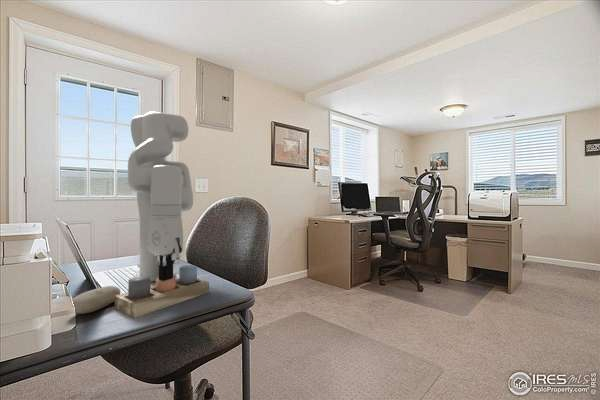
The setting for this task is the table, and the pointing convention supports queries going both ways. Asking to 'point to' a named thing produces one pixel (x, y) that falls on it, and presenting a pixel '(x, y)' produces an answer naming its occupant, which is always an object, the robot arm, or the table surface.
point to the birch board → (160, 298)
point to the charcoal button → (139, 287)
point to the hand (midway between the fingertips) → (165, 279)
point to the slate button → (188, 274)
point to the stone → (95, 299)
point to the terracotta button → (165, 285)
